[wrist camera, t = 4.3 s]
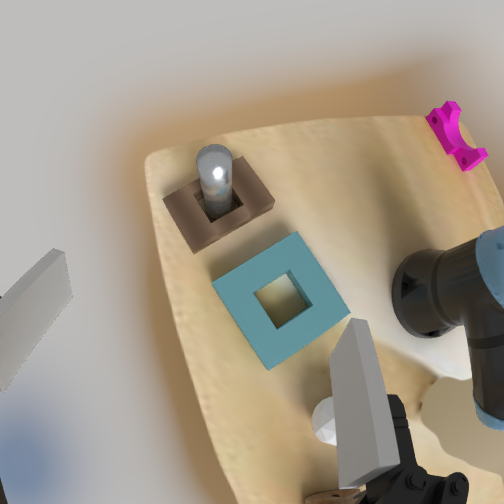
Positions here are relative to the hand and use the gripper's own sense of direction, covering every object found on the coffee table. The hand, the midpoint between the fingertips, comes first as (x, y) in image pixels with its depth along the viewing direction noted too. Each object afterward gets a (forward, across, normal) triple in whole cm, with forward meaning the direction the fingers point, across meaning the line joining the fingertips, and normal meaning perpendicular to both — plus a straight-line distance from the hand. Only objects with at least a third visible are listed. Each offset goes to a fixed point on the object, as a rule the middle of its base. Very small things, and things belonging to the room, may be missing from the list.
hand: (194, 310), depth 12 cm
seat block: (+24, -8, +18) cm, 31 cm away
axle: (+33, +4, +9) cm, 34 cm away
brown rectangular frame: (+33, +4, +9) cm, 34 cm away
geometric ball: (+13, -19, +29) cm, 37 cm away
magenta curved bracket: (+54, -42, -12) cm, 70 cm away
